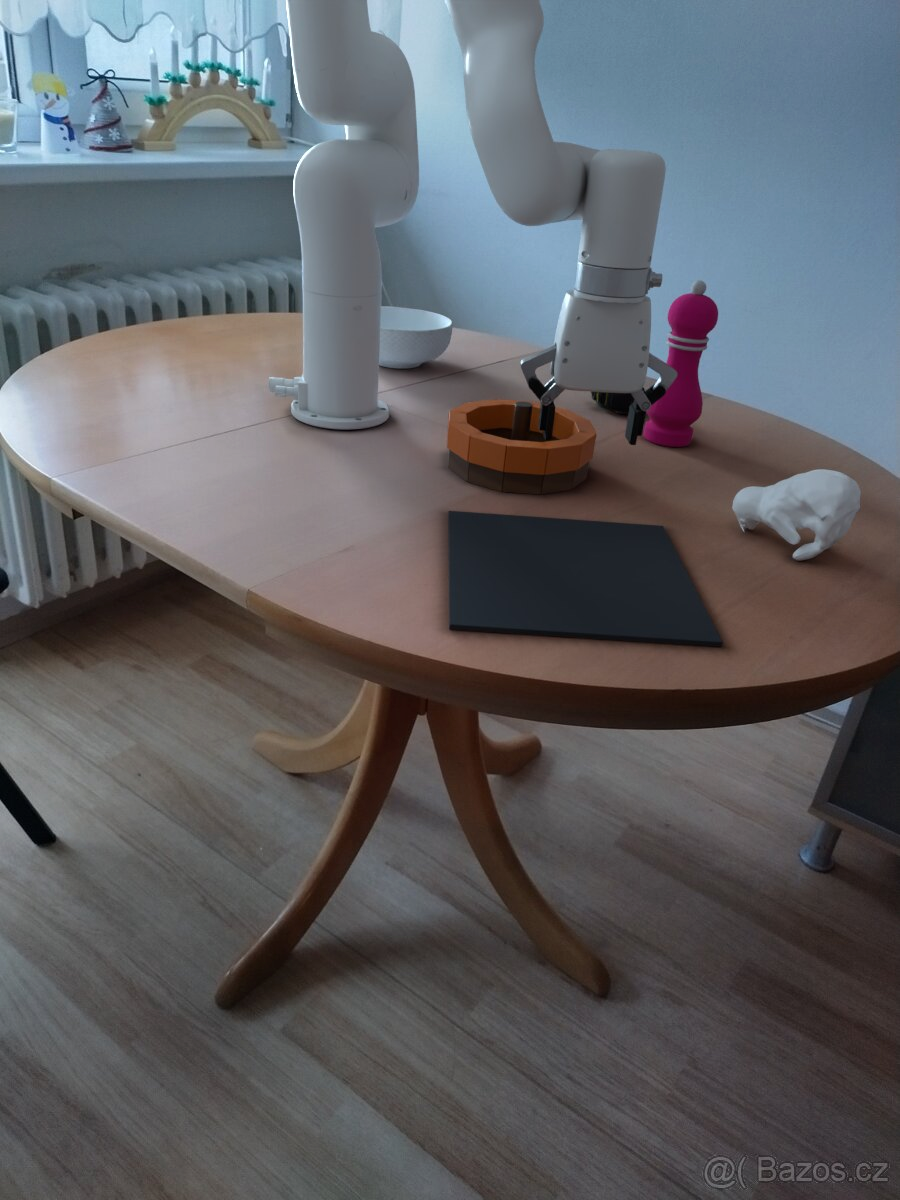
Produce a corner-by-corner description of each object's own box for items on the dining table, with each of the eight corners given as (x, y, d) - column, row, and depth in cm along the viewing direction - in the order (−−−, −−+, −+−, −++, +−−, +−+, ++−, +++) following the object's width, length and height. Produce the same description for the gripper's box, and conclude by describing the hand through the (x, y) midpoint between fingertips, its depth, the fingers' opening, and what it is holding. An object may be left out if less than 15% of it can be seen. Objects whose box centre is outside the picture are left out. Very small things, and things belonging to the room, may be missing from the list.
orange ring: (447, 468, 92) (449, 441, 91) (447, 418, 106) (448, 395, 105) (600, 479, 93) (605, 452, 91) (580, 428, 107) (583, 405, 106)
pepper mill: (695, 452, 110) (733, 288, 100) (638, 444, 111) (670, 281, 101) (693, 434, 116) (728, 279, 106) (639, 427, 117) (669, 272, 107)
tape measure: (634, 404, 127) (638, 378, 125) (646, 419, 121) (652, 392, 119) (588, 401, 126) (592, 376, 124) (599, 416, 120) (603, 390, 118)
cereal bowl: (448, 381, 129) (452, 333, 126) (337, 372, 129) (338, 324, 125) (450, 353, 144) (453, 309, 141) (350, 345, 144) (351, 301, 140)
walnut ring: (448, 488, 94) (449, 467, 92) (447, 438, 107) (449, 419, 106) (594, 498, 94) (597, 478, 93) (575, 447, 108) (578, 429, 107)
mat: (449, 629, 68) (449, 624, 68) (448, 514, 87) (448, 510, 87) (721, 647, 69) (723, 642, 69) (662, 529, 88) (663, 525, 88)
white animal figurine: (847, 486, 78) (727, 458, 86) (827, 572, 82) (714, 537, 90) (874, 472, 82) (757, 446, 90) (855, 554, 86) (744, 522, 94)
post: (481, 477, 97) (488, 412, 93) (479, 451, 104) (485, 390, 100) (555, 482, 97) (565, 418, 94) (548, 456, 105) (556, 395, 101)
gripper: (683, 281, 94) (656, 432, 102) (526, 271, 93) (511, 424, 102) (701, 293, 87) (670, 454, 96) (532, 283, 87) (515, 445, 95)
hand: (588, 438), depth 99 cm, fingers open, 9 cm apart
